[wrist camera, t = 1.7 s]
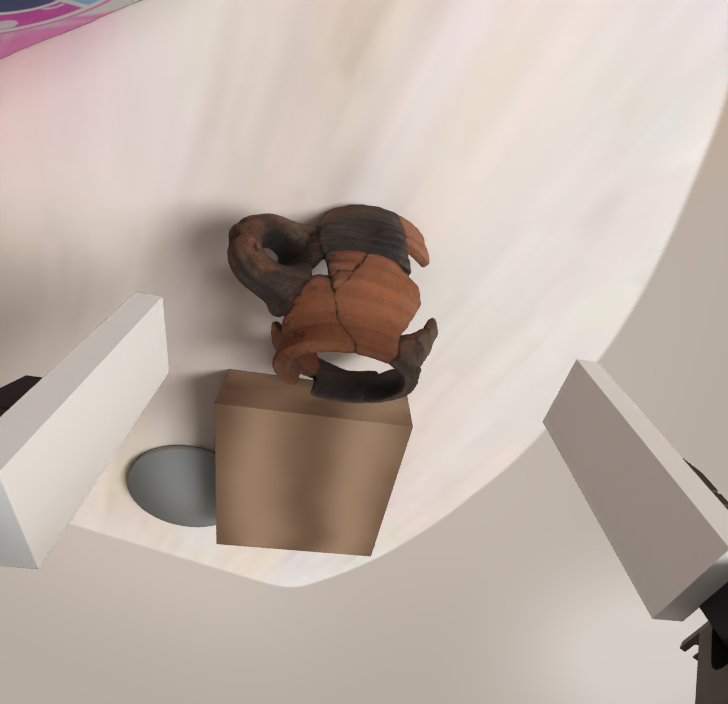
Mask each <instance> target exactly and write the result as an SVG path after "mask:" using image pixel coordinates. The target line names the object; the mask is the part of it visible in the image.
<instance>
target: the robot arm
mask: <svg viewBox="0 0 728 704" xmlns="http://www.w3.org/2000/svg"><path fill="white" fill-rule="evenodd" d="M168 373H169V366H168V354H167V342H166V331H165V319H164V308H163V296H156V295H150V294H143V293H137V292H135V293H134V294H133V295H132V296H131V297H130V298H129V299H128V300H127V301H125V302H124V303H123V304H122V305H121V306H120V307H119V308H118V309H117V310H116V311H115V312H114V313H112V314H111V315H110V316H109V317H108V318H107V319H106V320H105V321H104V322H103V323H102V324H101V325H99V326H98V327H97V328H96V329H95V330H94V331H93V332H92V333H91V334H90V335H89V336H88V337H86V338H85V339H84V340H83V341H82V342H81V343H80V344H79V345H78V346H77V347H76V348H75V349H73V350H72V351H71V352H70V353H69V354H68V355H67V356H66V357H65V358H64V359H63V360H62V361H61V362H59V363H58V364H57V365H56V366H55V367H54V368H53V369H52V370H51V371H50V372H49V373H48V374H46V375H45V376H44V377H43V378H42V377H34V376H24V377H22V378H20V379H18V380H16V381H14V382H12V383H10V384H7V385H5V386H3V387H1V388H0V566H5V567H17V568H30V569H39V568H40V566H41V565H42V563H43V562H44V560H45V559H46V557H47V556H48V554H49V553H50V551H51V550H52V548H53V547H54V545H55V544H56V542H57V541H58V539H59V537H60V536H61V535H62V533H63V531H64V530H65V529H66V527H67V526H68V524H69V523H70V521H71V519H72V518H73V516H74V515H75V513H76V512H77V510H78V509H79V507H80V506H81V504H82V503H83V501H84V500H85V498H86V497H87V495H88V494H89V492H90V491H91V489H92V488H93V486H94V485H95V483H96V482H97V480H98V479H99V477H100V476H101V474H102V473H103V471H104V470H105V468H106V467H107V465H108V464H109V462H110V460H111V459H112V457H113V456H114V454H115V453H116V451H117V450H118V448H119V447H120V445H121V444H122V442H123V441H124V439H125V438H126V436H127V435H128V433H129V432H130V430H131V429H132V427H133V426H134V424H135V423H136V421H137V420H138V418H139V417H140V415H141V414H142V412H143V411H144V409H145V408H146V406H147V405H148V403H149V402H150V400H151V398H152V397H153V395H154V394H155V392H156V391H157V389H158V388H159V386H160V385H161V383H162V382H163V380H164V379H165V377H166V376H167V374H168ZM543 423H544V425H545V427H546V428H547V430H548V432H549V434H550V436H551V437H552V439H553V441H554V443H555V445H556V446H557V448H558V450H559V452H560V454H561V455H562V457H563V459H564V461H565V463H566V464H567V466H568V468H569V470H570V472H571V473H572V475H573V477H574V479H575V481H576V482H577V484H578V486H579V488H580V490H581V491H582V493H583V495H584V496H585V499H586V500H587V502H588V504H589V506H590V507H591V509H592V511H593V513H594V515H595V517H596V518H597V520H598V522H599V524H600V525H601V527H602V529H603V531H604V533H605V534H606V536H607V538H608V540H609V542H610V543H611V545H612V547H613V549H614V551H615V552H616V554H617V556H618V558H619V560H620V561H621V563H622V565H623V567H624V568H625V570H626V572H627V574H628V576H629V578H630V579H631V581H632V583H633V585H634V587H635V588H636V590H637V592H638V594H639V596H640V597H641V599H642V601H643V603H644V605H645V606H646V608H647V610H648V612H649V613H650V615H651V617H652V619H660V620H672V621H684V620H685V619H686V618H687V617H688V616H690V615H691V614H692V613H693V612H694V611H695V610H697V609H698V608H699V607H700V609H701V610H702V611H703V613H704V615H705V616H706V617H707V619H708V622H706V623H705V624H704V625H703V626H702V627H700V628H699V629H698V630H697V631H695V632H694V633H693V634H691V635H690V636H689V637H688V638H686V639H685V640H684V641H683V642H682V644H681V646H680V649H682V650H683V651H687V650H688V649H690V648H691V647H692V646H693V645H699V650H698V651H699V652H698V653H697V654H696V655H694V656H693V658H695V659H696V660H697V661H698V667H697V683H696V700H695V704H728V501H727V500H726V499H725V498H724V497H723V496H722V495H721V494H718V493H717V491H718V490H717V489H716V488H715V487H714V486H713V485H712V484H711V482H710V481H709V480H708V479H707V478H706V477H705V476H704V475H703V474H702V473H701V472H700V471H699V470H697V469H696V468H695V467H694V466H692V465H691V464H690V463H688V462H687V461H686V460H685V459H683V458H682V457H681V456H680V455H679V454H678V453H677V452H676V451H675V449H674V448H673V447H672V446H671V445H670V444H669V442H667V440H666V439H665V438H664V437H663V436H662V435H661V433H660V432H659V431H658V430H657V429H656V428H655V427H654V425H653V424H652V423H651V422H650V421H649V420H648V419H647V418H646V416H645V415H644V414H643V413H642V412H641V411H640V409H639V408H638V407H637V406H636V405H635V404H634V403H633V401H632V400H631V399H630V398H629V397H628V396H627V395H626V394H625V392H624V391H623V390H622V389H621V388H620V387H619V386H618V384H617V383H616V382H615V381H614V380H613V379H612V378H611V376H610V375H609V374H608V373H607V372H606V371H605V370H604V369H603V367H602V366H601V365H600V364H599V363H598V362H592V361H585V360H579V359H577V360H576V361H575V363H574V365H573V367H572V369H571V371H570V372H569V374H568V376H567V378H566V380H565V382H564V384H563V385H562V387H561V389H560V391H559V393H558V395H557V396H556V398H555V400H554V402H553V404H552V406H551V407H550V409H549V411H548V413H547V415H546V417H545V418H544V420H543Z"/></svg>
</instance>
